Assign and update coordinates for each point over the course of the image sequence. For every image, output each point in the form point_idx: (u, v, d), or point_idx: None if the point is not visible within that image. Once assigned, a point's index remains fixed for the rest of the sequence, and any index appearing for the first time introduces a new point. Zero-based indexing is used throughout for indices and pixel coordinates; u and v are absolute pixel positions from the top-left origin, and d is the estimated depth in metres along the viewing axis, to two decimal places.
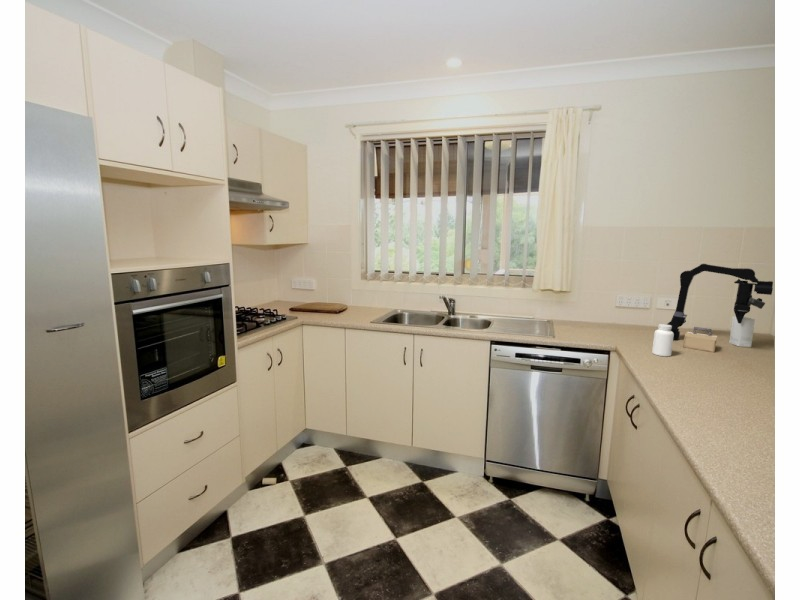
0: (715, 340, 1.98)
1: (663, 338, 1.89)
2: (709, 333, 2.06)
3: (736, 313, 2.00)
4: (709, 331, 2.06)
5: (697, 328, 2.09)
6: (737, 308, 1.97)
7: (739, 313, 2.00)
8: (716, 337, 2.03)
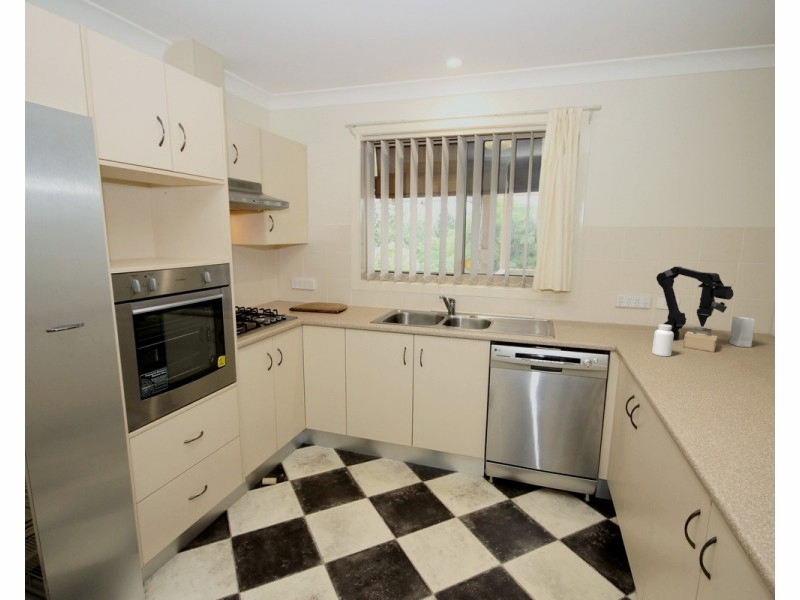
0: (715, 340, 1.98)
1: (663, 338, 1.89)
2: (709, 333, 2.06)
3: (699, 317, 2.04)
4: (709, 331, 2.06)
5: (697, 328, 2.09)
6: (699, 312, 2.01)
7: (702, 317, 2.03)
8: (716, 337, 2.03)
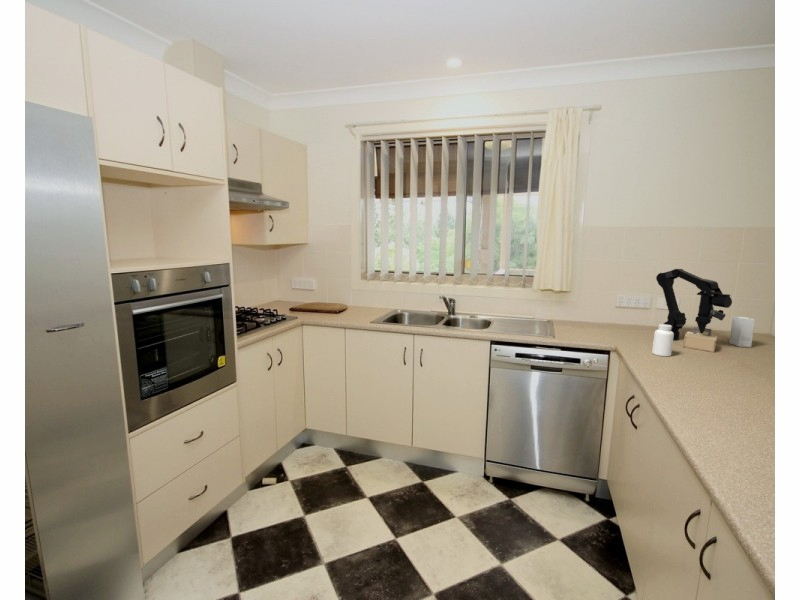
0: (715, 340, 1.98)
1: (663, 338, 1.89)
2: (709, 333, 2.06)
3: (698, 323, 2.07)
4: (709, 331, 2.06)
5: (697, 328, 2.09)
6: (698, 320, 2.01)
7: (701, 323, 2.07)
8: (716, 337, 2.03)
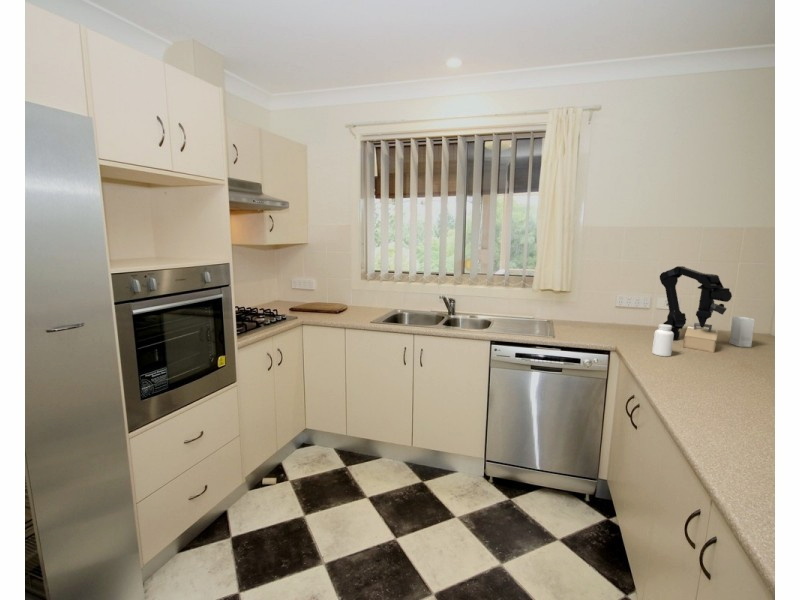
0: (715, 340, 1.98)
1: (663, 338, 1.89)
2: (710, 329, 2.05)
3: (699, 318, 2.04)
4: (710, 327, 2.05)
5: (697, 324, 2.08)
6: (699, 314, 1.99)
7: (702, 318, 2.04)
8: (717, 333, 2.03)
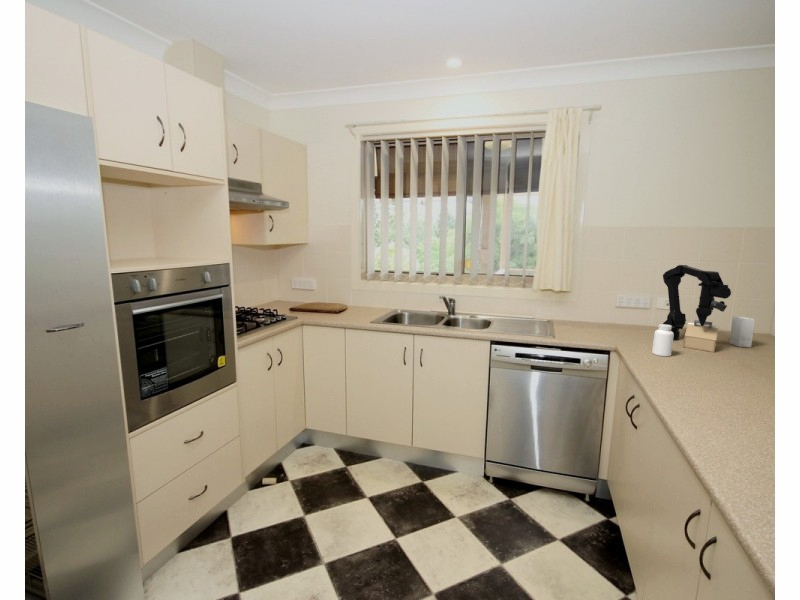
0: (715, 340, 1.98)
1: (663, 338, 1.89)
2: (710, 326, 2.04)
3: (699, 316, 2.01)
4: (710, 325, 2.03)
5: (698, 322, 2.06)
6: (699, 311, 1.97)
7: (701, 316, 2.00)
8: (717, 331, 2.02)
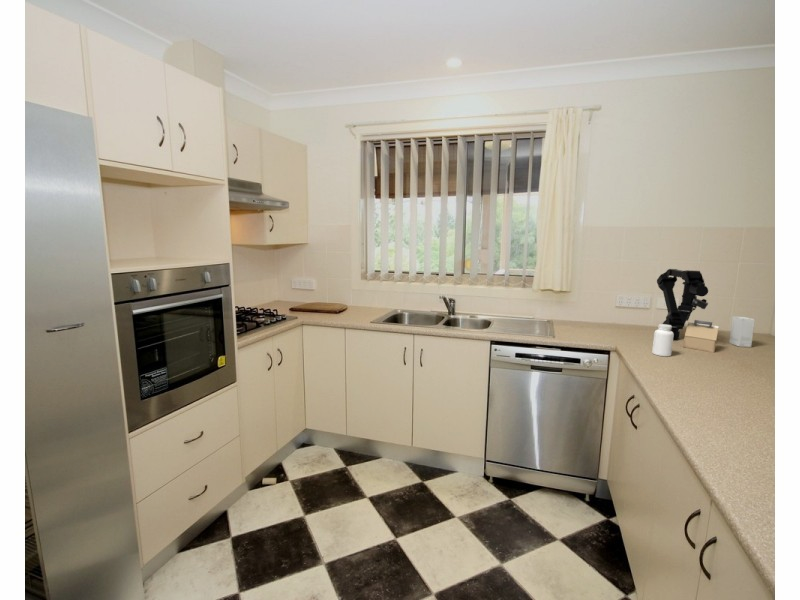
0: (715, 340, 1.98)
1: (663, 338, 1.89)
2: (710, 326, 2.04)
3: (680, 313, 2.08)
4: (710, 325, 2.03)
5: (698, 322, 2.06)
6: (680, 308, 2.06)
7: (683, 313, 2.08)
8: (717, 331, 2.02)
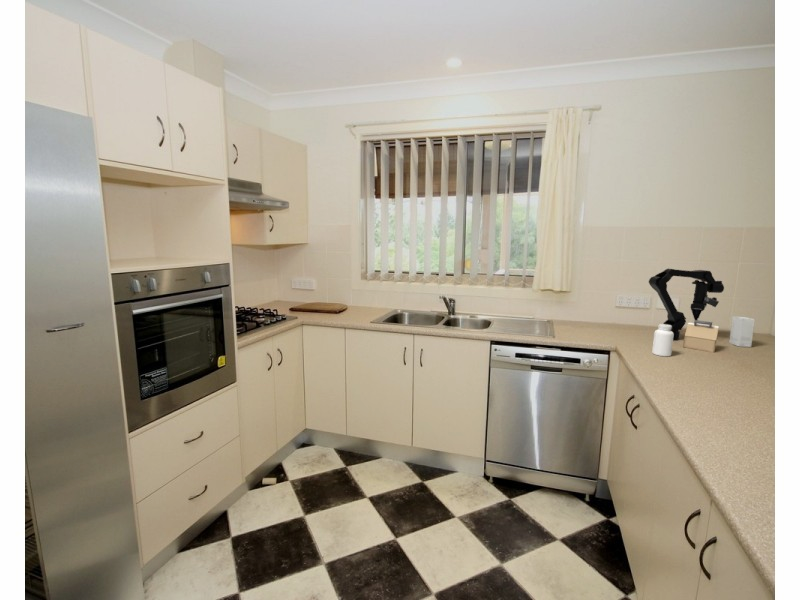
0: (715, 340, 1.98)
1: (663, 337, 1.89)
2: (710, 326, 2.04)
3: (693, 311, 2.18)
4: (710, 325, 2.03)
5: (698, 322, 2.06)
6: (693, 306, 2.16)
7: (695, 311, 2.18)
8: (717, 331, 2.02)
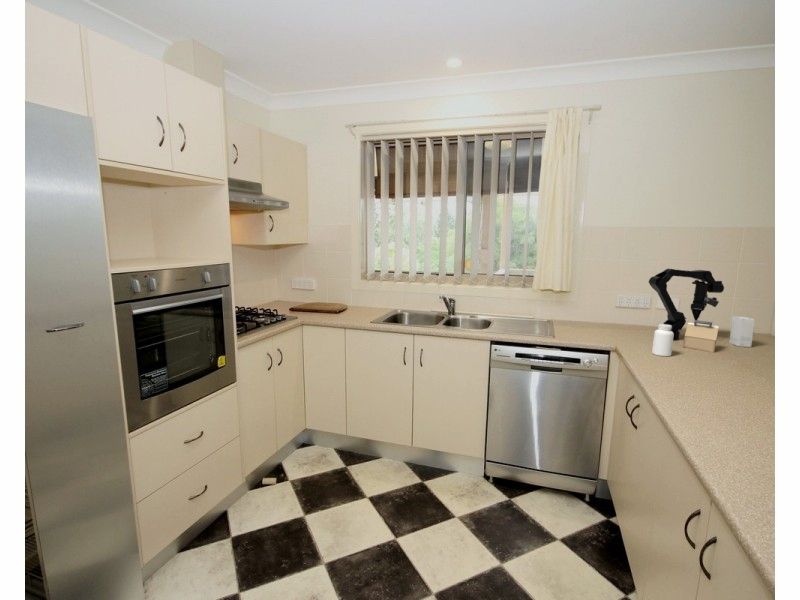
0: (715, 340, 1.98)
1: (663, 337, 1.89)
2: (710, 326, 2.04)
3: (693, 311, 2.18)
4: (710, 325, 2.03)
5: (698, 322, 2.06)
6: (693, 306, 2.16)
7: (695, 311, 2.18)
8: (717, 331, 2.02)
